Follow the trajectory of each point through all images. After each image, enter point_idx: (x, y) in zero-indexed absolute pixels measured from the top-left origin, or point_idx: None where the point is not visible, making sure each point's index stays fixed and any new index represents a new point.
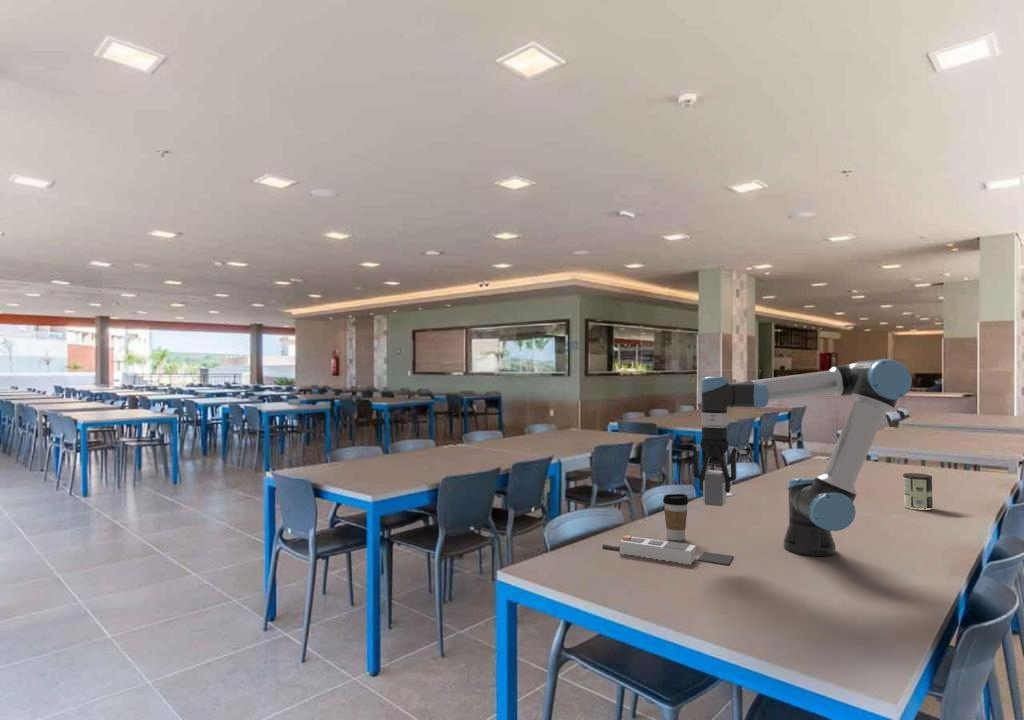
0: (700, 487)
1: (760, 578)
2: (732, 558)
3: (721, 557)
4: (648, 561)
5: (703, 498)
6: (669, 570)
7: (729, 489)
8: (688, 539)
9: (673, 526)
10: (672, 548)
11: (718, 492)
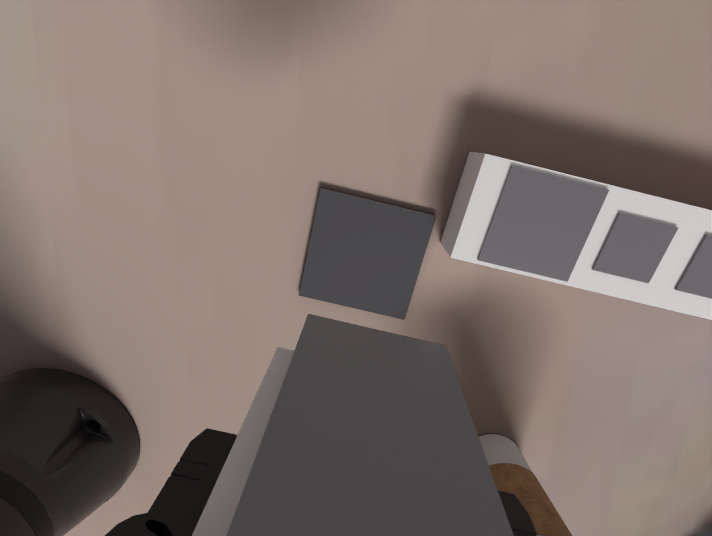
0: (524, 520)
1: (204, 47)
2: (304, 270)
3: (343, 265)
4: (643, 150)
5: None
6: (570, 43)
7: (181, 461)
8: None
9: (520, 475)
10: (566, 178)
11: (319, 395)
